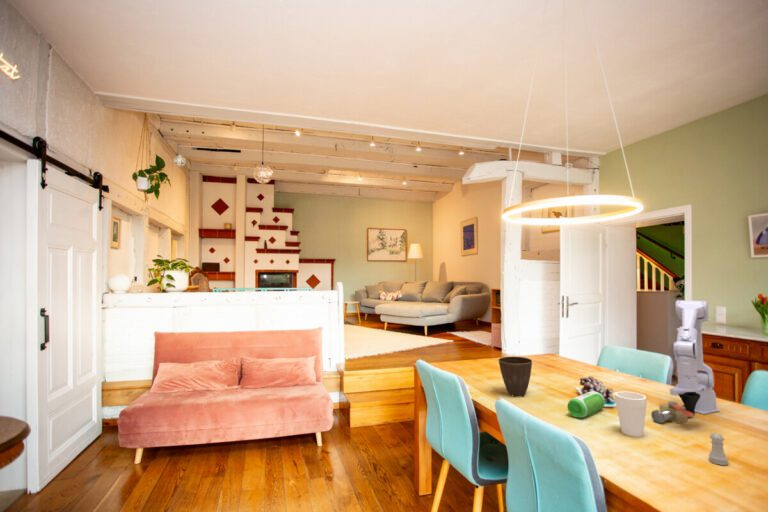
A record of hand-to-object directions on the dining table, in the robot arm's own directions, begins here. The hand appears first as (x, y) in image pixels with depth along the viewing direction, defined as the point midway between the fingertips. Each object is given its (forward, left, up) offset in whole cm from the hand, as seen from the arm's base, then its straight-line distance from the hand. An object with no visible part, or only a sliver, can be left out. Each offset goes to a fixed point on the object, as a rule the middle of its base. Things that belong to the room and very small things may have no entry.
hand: (689, 413), depth 137 cm
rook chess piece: (+19, +19, -5) cm, 27 cm away
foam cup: (+23, -5, -5) cm, 24 cm away
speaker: (+21, -25, -6) cm, 33 cm away
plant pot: (+32, -56, -5) cm, 64 cm away
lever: (0, -3, 0) cm, 3 cm away
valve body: (-2, -8, -5) cm, 9 cm away
